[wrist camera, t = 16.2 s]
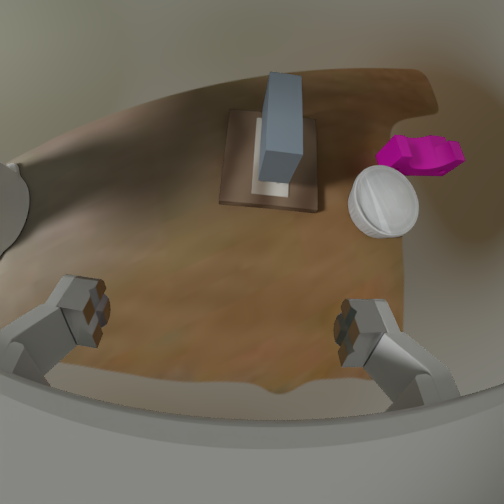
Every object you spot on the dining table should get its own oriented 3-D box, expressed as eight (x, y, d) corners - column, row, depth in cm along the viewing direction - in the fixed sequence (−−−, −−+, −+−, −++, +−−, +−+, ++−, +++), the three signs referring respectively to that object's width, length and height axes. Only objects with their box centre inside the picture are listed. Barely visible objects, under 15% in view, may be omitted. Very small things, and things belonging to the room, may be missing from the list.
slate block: (258, 180, 38) (265, 150, 31) (262, 107, 41) (269, 71, 33) (288, 183, 39) (303, 154, 31) (289, 111, 41) (301, 76, 33)
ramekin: (328, 212, 44) (340, 200, 39) (362, 164, 47) (376, 150, 41) (382, 258, 44) (399, 252, 39) (411, 208, 46) (428, 198, 41)
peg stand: (219, 204, 43) (218, 189, 38) (229, 114, 46) (230, 93, 41) (314, 213, 44) (326, 200, 39) (313, 124, 47) (322, 105, 42)
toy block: (432, 147, 49) (453, 129, 42) (442, 176, 48) (465, 160, 41) (371, 143, 48) (389, 121, 40) (380, 175, 47) (402, 156, 39)
